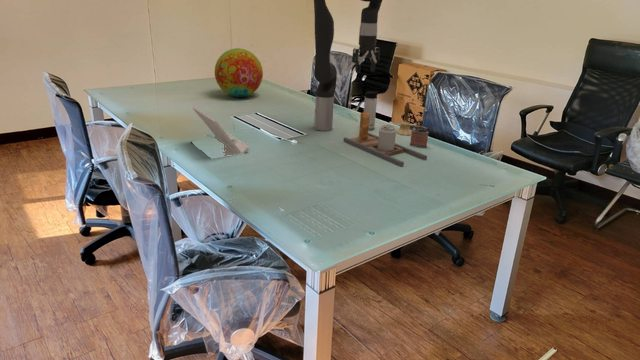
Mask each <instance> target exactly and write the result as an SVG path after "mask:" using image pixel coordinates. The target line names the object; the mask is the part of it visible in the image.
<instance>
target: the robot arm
mask: <svg viewBox="0 0 640 360" xmlns="http://www.w3.org/2000/svg"><path fill="white" fill-rule="evenodd" d="M360 1H361V2H366V3H367V2H369V3H368V6H367V7H364V8H362V10H361V15H360V25H359V32H358V33H359V35H358V46H359V47H358V48H355V47H354V48H353V49H352V57H351V58H352V59H351V62H352V63H353V64H355V69H354V71H355V73H357V74H360V73H361V67H362V62H363V61H364V60H366V59H369V60H370V68H369V70H370V72H372V73H373V72H376V67H377V66H376V65H377V62H380V61H381V60H380V59H381V47H379V46H378V47H377V35H378V20H379V19H378V17H379V12H380V9H381V5H382V2H383V0H360ZM313 7H314V45H315V46H314V50H315V52H314V53H315V56H314V57H315V59H314V68H313V72H314V79H315V80H316V82H318V86H317V88H316V89H315V104H314V105H315V107H314V108H315V109H314V117H313V118H314V119H313V121H314V123H313V127H314V130H315V131H317V130H318V131H321V132H322V131H323V132H324V131H325V132H326V131H332V130H333V126H334V125H333V124H334V123H333V122H334V121H333V120H334V104H335V101H334V100H335V91H336V87H337V80H338V79H337V78H338V75H337V74H338V71H337V68H336V66H335V65H334V63H331V58H330V57H331V55H330V54H331V50H332V47H333V43H334V39H335V38H334V37H335V22H334V18H333V16H332V13H331V12H330V9H329V8H328V6H327V2H326V0H313Z"/></svg>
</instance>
